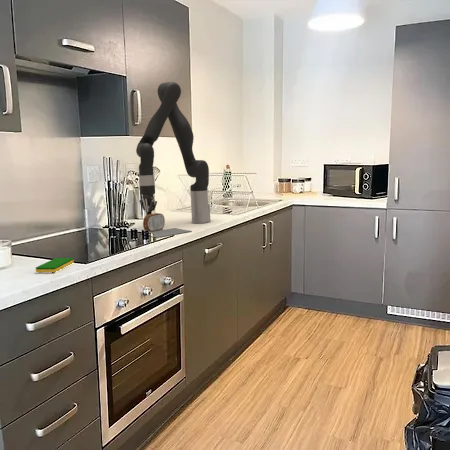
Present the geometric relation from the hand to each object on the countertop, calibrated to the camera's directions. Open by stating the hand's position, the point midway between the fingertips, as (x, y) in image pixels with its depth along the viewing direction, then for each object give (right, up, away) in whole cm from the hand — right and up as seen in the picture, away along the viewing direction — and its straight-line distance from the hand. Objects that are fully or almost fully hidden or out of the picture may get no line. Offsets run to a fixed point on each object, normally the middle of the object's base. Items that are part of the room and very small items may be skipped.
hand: (149, 219), depth 233 cm
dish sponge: (-21, -19, -70) cm, 75 cm away
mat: (+10, -7, -10) cm, 15 cm away
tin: (+3, -6, -3) cm, 7 cm away
